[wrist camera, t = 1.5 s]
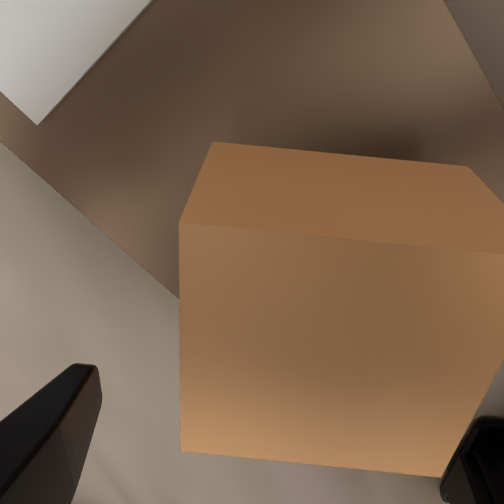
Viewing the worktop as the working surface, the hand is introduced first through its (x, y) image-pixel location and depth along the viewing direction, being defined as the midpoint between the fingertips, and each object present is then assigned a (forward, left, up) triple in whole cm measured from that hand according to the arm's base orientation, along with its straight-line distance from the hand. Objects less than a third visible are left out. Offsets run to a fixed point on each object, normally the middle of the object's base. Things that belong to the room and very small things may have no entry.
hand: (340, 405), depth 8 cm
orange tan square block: (0, 0, -5) cm, 5 cm away
